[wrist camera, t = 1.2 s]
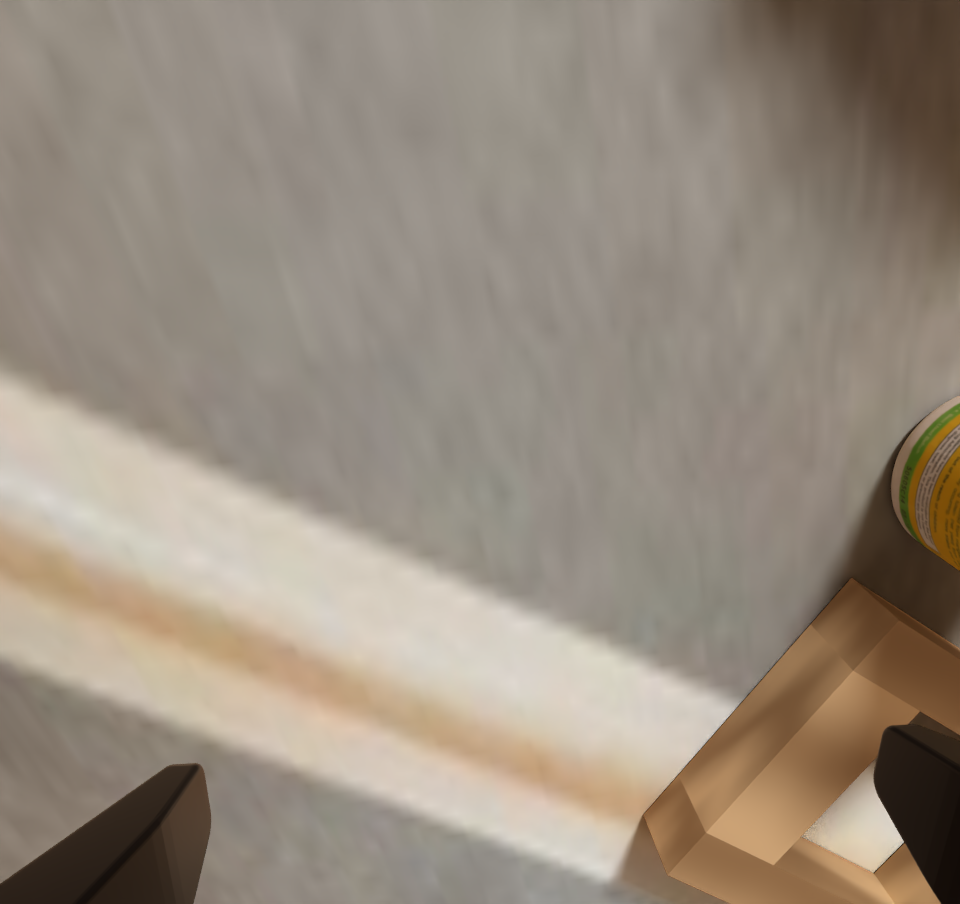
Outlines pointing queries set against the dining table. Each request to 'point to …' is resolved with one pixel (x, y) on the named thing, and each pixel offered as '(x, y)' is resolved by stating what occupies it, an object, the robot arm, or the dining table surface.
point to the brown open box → (807, 761)
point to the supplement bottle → (931, 482)
